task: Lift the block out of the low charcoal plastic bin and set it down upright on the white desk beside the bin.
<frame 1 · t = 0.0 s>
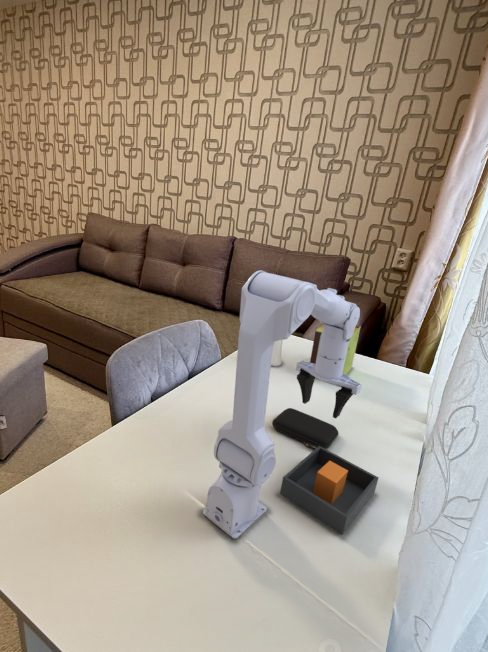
hand: (320, 408, 89), 10 cm above the table, tool pointing down, fingers open, 7 cm apart
bin: (327, 495, 78), on the table
block: (327, 493, 78), resting on bin
carrying case: (302, 434, 97), on the table
protein box: (329, 371, 130), on the table
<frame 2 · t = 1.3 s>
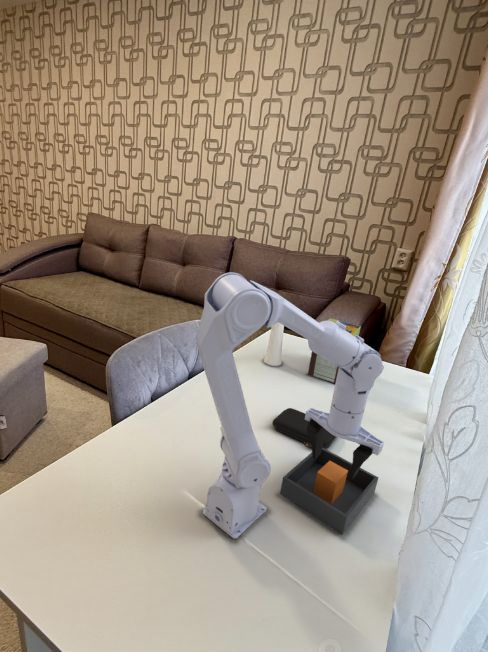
hand: (334, 465, 76), 7 cm above the table, tool pointing down, fingers open, 7 cm apart
nothing on the table moved.
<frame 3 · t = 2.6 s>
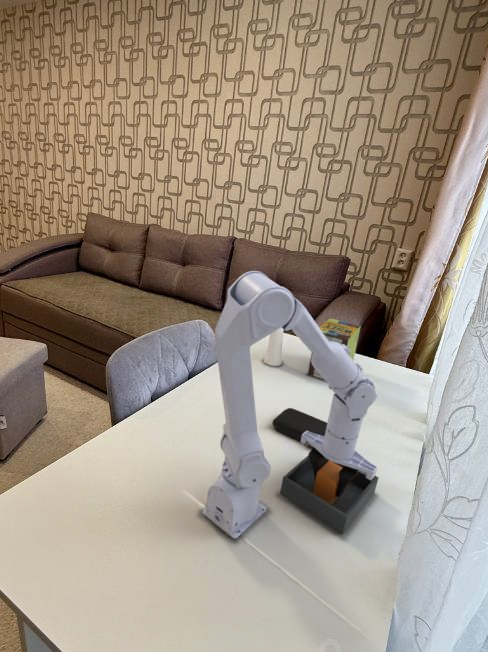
hand: (329, 487, 78), 2 cm above the table, tool pointing down, fingers closed on block, 4 cm apart
block: (327, 493, 78), resting on bin, touching gripper
everything else where it was.
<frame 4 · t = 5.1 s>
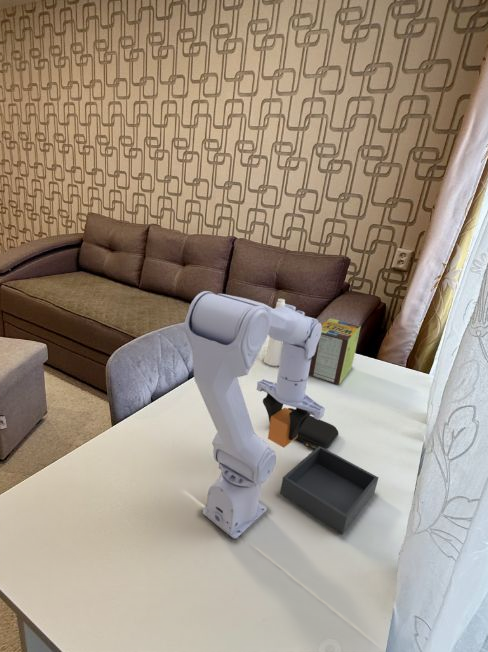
hand: (283, 432, 81), 9 cm above the table, tool pointing down, fingers closed on block, 4 cm apart
block: (282, 438, 82), point 8 cm above the table, touching gripper
everything else where it was.
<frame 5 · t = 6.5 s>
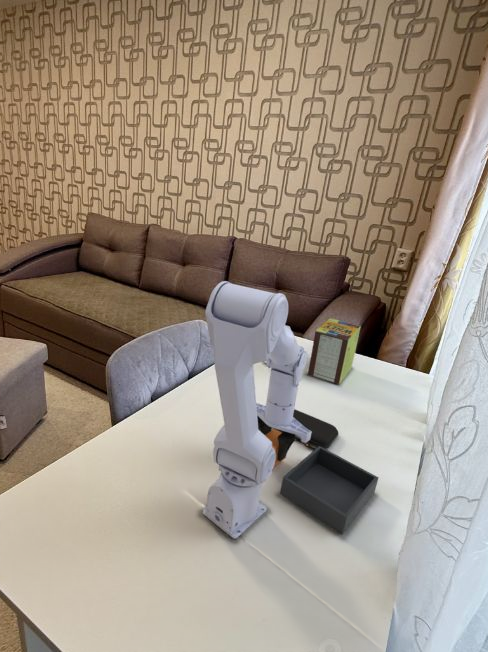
hand: (272, 453, 84), 3 cm above the table, tool pointing down, fingers closed on block, 4 cm apart
block: (271, 458, 85), point 2 cm above the table, touching gripper
everything else where it was.
when the fingers open (1 cm above the table, at t = 7.5 s): block stays where it is, on the table.
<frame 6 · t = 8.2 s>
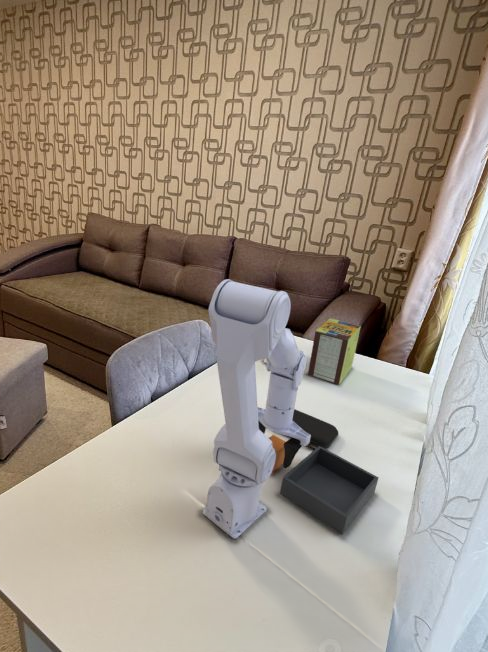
hand: (272, 456, 85), 2 cm above the table, tool pointing down, fingers open, 7 cm apart
block: (271, 464, 86), on the table
everything else where it was.
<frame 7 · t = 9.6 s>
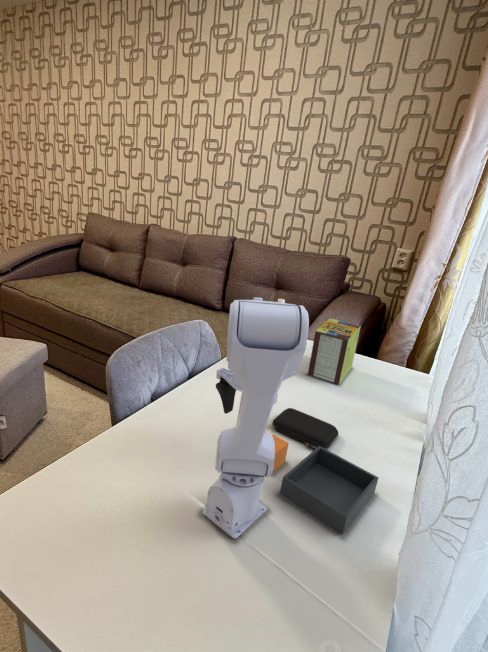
hand: (241, 419, 84), 9 cm above the table, tool pointing down, fingers open, 7 cm apart
nothing on the table moved.
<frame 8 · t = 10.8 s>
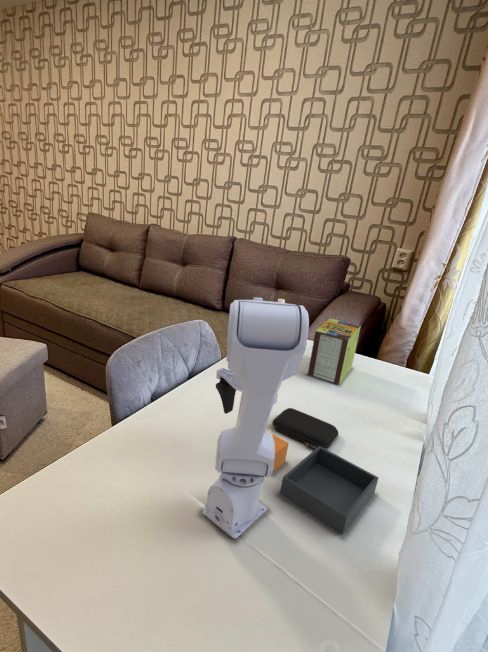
hand: (241, 419, 84), 9 cm above the table, tool pointing down, fingers open, 7 cm apart
nothing on the table moved.
at the end: block inside the target area (0.1 cm from its centre), on the table; block tilted 0°; the gripper is holding nothing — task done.
